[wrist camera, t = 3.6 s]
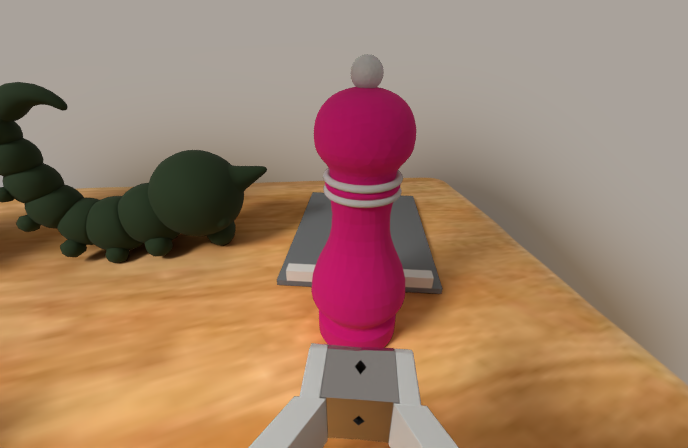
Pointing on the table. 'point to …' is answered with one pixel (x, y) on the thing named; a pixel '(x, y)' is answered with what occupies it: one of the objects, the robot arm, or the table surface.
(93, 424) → the table surface
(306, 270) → the grey stop strip
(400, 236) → the grey rectangular board
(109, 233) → the toy figurine
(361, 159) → the magenta bowling pin
